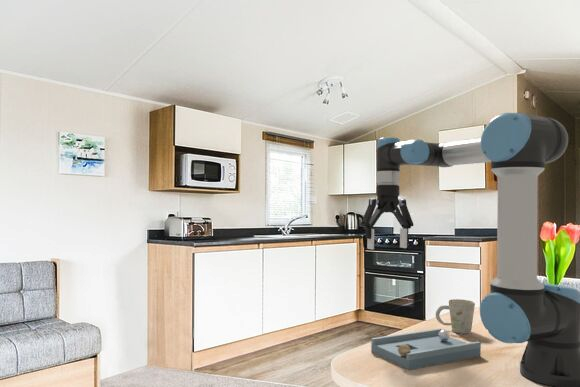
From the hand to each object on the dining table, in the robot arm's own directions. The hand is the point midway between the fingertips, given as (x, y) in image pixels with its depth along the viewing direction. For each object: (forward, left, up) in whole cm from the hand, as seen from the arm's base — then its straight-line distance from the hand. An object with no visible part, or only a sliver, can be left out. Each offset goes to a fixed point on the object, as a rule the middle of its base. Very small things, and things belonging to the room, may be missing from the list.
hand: (387, 248), depth 157 cm
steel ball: (-21, -4, -24) cm, 32 cm away
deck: (-22, +4, -28) cm, 36 cm away
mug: (-7, -23, -28) cm, 37 cm away
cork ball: (-27, +16, -24) cm, 39 cm away
